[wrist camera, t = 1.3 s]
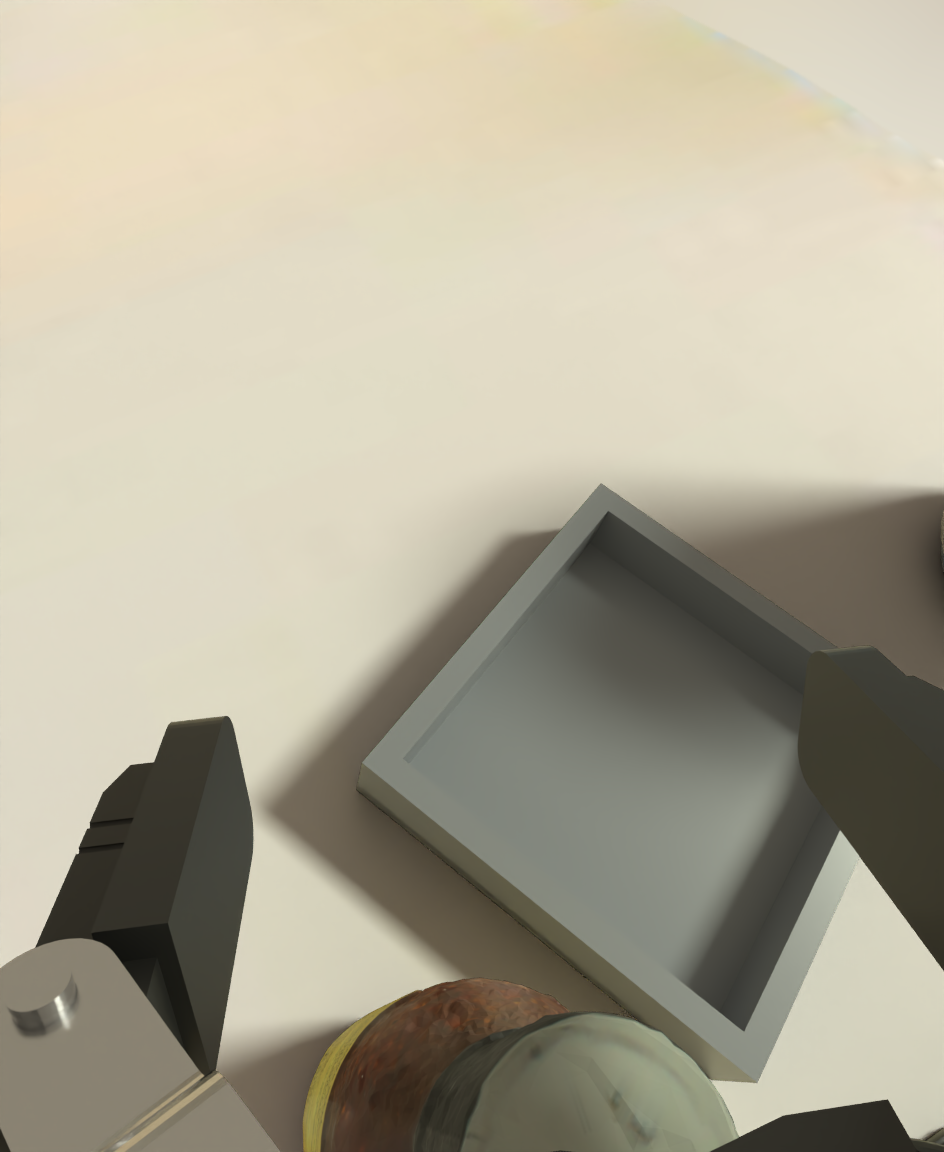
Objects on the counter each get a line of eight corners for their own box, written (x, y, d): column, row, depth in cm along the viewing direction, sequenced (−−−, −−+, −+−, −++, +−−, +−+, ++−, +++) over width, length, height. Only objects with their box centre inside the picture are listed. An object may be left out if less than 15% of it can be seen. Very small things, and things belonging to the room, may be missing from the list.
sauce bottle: (316, 1263, 25) (350, 1697, 8) (290, 1031, 28) (273, 997, 11) (525, 1197, 27) (908, 1444, 10) (480, 984, 30) (721, 892, 13)
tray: (356, 789, 32) (361, 762, 29) (578, 526, 40) (601, 483, 37) (711, 1079, 30) (757, 1082, 27) (876, 737, 37) (926, 709, 34)
